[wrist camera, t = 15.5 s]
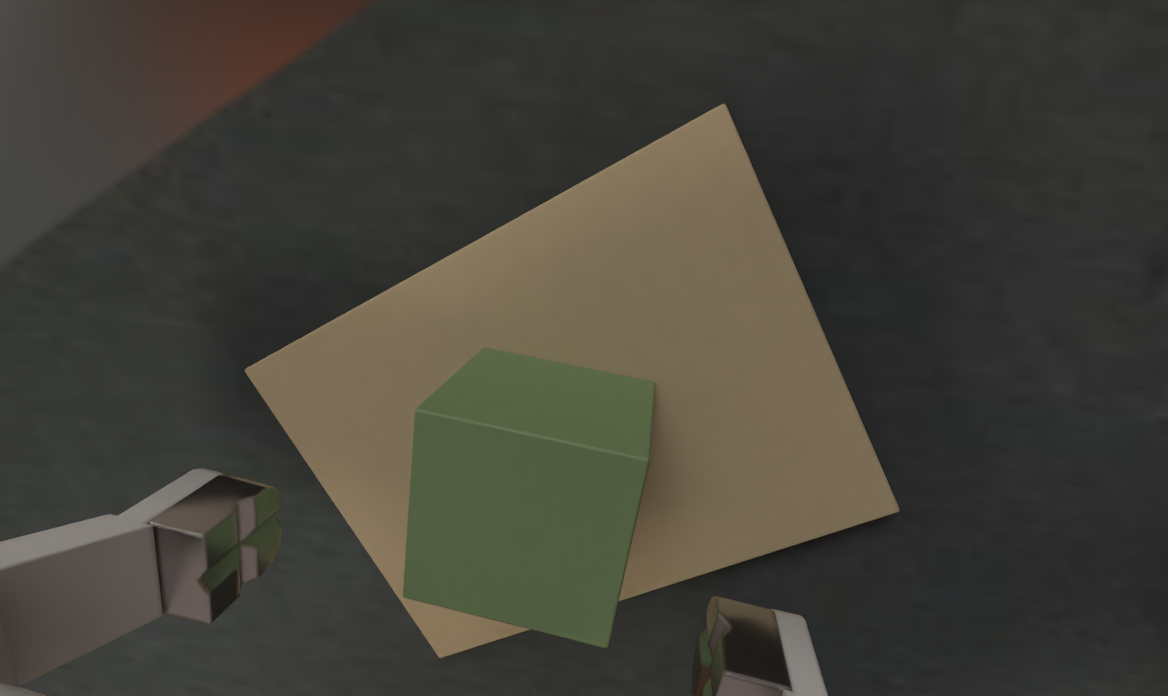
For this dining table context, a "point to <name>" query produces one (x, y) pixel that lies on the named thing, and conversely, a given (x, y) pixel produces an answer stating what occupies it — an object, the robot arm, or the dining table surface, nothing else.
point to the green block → (528, 493)
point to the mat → (607, 368)
